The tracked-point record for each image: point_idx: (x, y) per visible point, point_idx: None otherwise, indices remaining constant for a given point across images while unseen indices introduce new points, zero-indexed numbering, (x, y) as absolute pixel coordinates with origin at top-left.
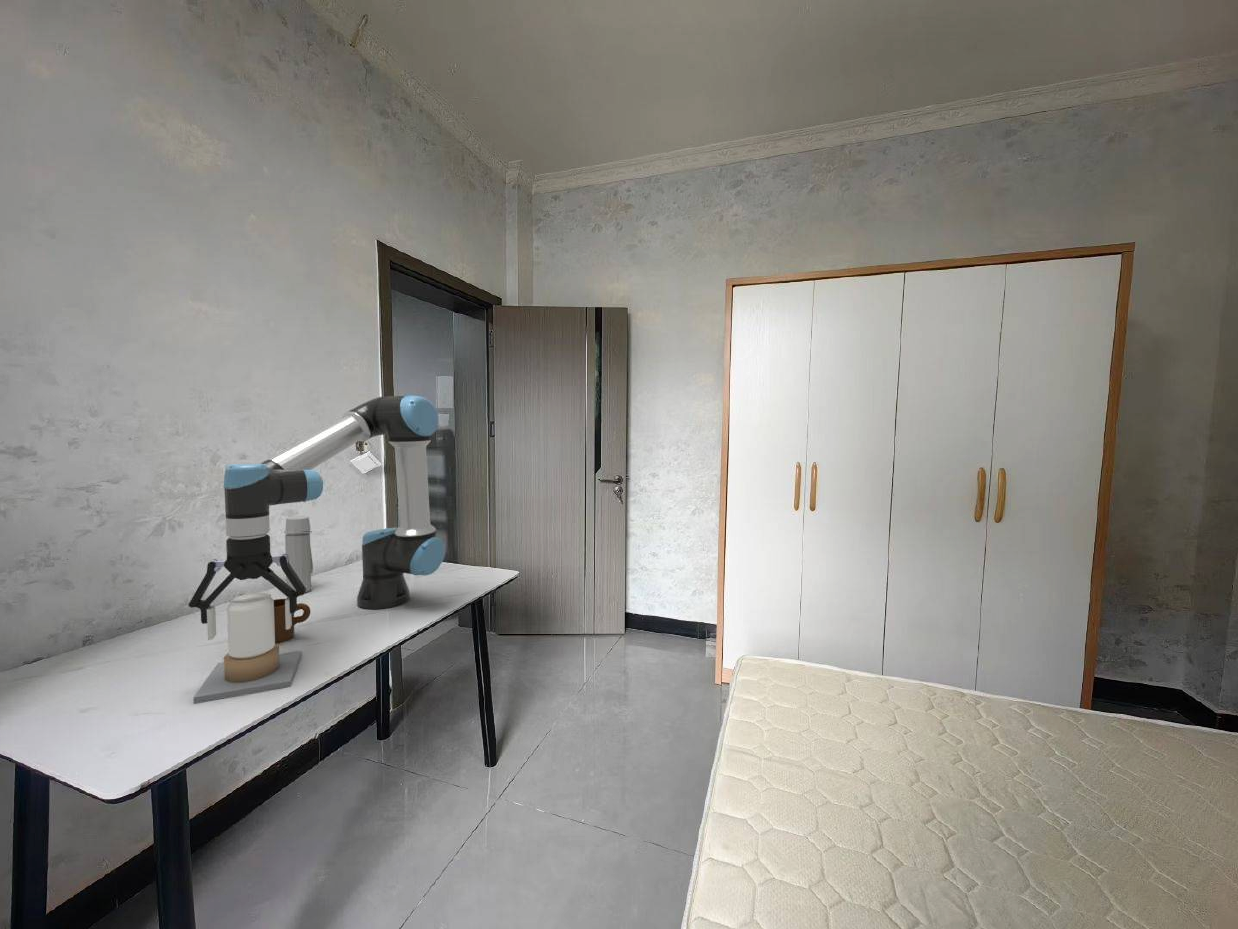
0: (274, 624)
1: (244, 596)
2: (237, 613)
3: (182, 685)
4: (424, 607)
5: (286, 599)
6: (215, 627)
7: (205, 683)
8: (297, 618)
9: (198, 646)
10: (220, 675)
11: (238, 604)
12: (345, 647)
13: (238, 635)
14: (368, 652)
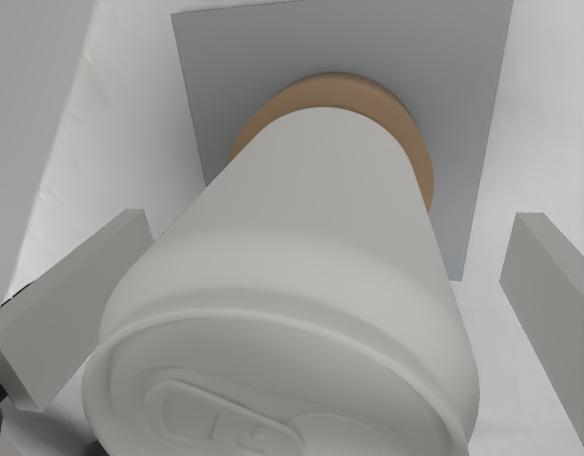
0: None
1: None
2: (350, 231)
3: (558, 181)
4: (30, 411)
5: (5, 365)
6: (519, 307)
7: (483, 118)
8: None
9: (528, 429)
10: (438, 173)
11: (337, 326)
12: None
13: (354, 148)
14: (39, 205)
